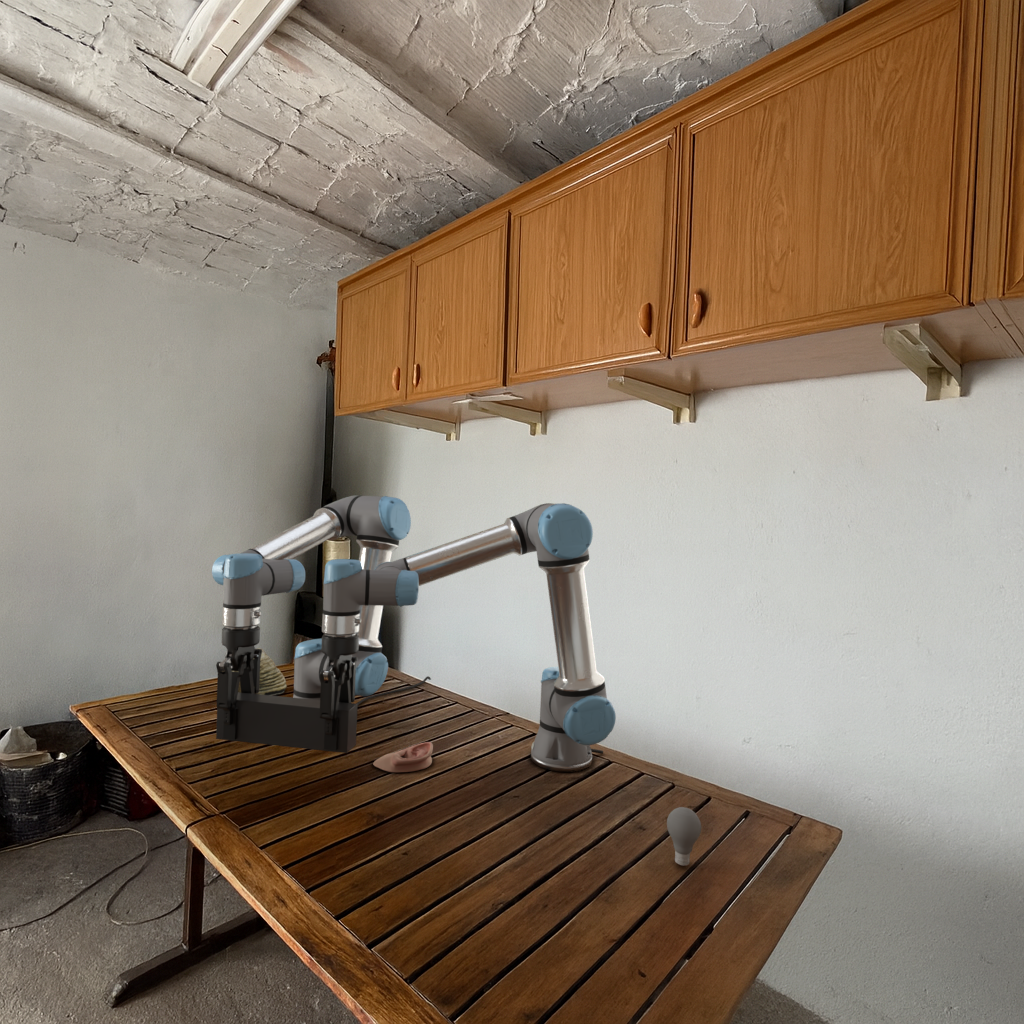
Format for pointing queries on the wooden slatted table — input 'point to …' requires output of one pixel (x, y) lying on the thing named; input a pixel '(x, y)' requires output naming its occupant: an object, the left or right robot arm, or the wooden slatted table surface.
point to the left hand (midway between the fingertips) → (237, 733)
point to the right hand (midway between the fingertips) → (336, 743)
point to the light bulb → (683, 832)
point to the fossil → (269, 677)
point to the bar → (288, 722)
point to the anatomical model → (407, 759)
